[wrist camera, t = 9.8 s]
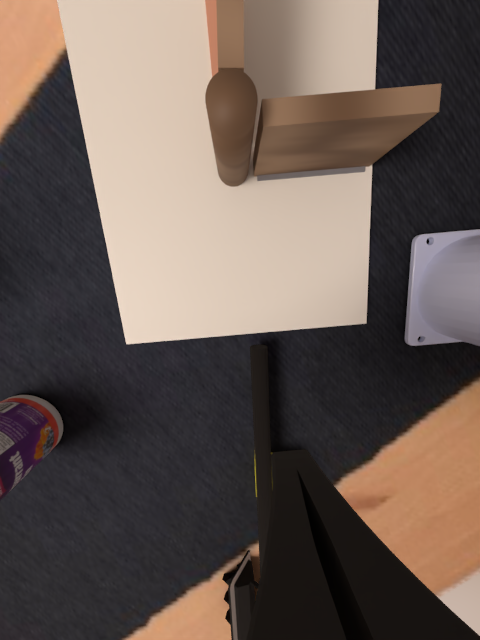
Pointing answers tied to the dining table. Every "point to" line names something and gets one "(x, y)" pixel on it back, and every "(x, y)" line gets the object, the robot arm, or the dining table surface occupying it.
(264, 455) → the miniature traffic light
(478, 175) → the dining table surface
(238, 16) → the gate panel
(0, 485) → the pill bottle
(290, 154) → the frame
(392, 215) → the dining table surface
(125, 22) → the card
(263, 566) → the robot arm
